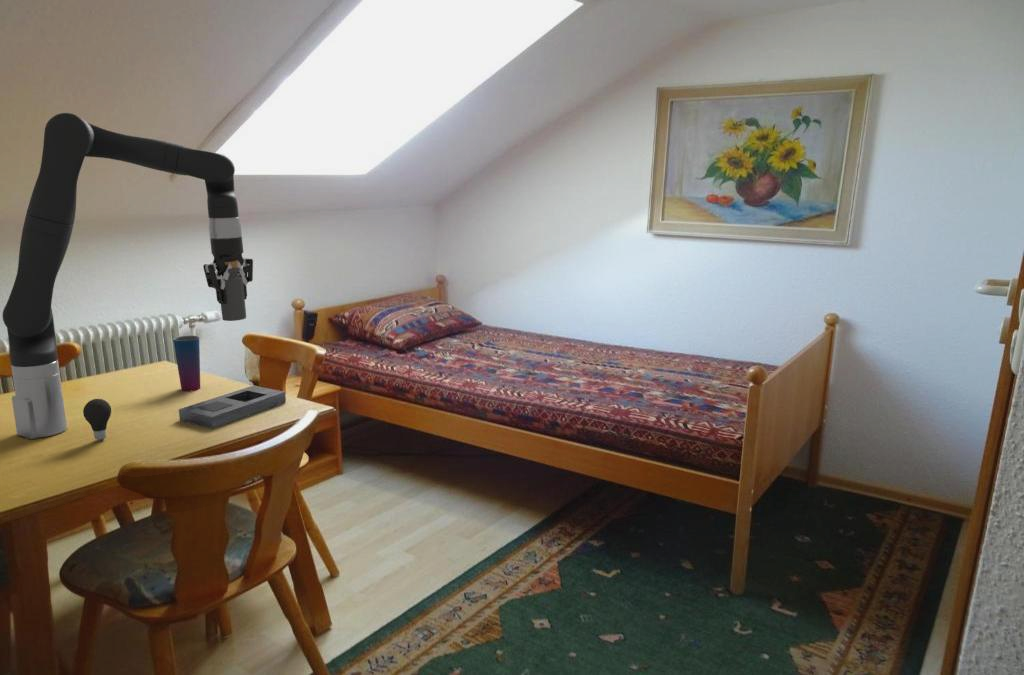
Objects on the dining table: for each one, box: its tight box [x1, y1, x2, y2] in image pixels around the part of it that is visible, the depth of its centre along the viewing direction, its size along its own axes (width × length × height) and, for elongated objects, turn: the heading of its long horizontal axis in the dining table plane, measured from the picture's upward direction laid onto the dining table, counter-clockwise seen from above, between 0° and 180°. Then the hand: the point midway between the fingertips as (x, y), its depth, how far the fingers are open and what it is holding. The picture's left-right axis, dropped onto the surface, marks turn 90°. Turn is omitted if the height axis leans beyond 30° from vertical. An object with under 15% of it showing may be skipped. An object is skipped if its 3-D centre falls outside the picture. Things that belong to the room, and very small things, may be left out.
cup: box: [173, 335, 201, 392], centre depth 205 cm, size 7×7×15 cm
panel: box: [178, 385, 287, 430], centre depth 187 cm, size 24×12×3 cm, turn 152°
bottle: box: [219, 260, 247, 322], centre depth 183 cm, size 6×6×15 cm
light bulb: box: [82, 398, 112, 442], centre depth 165 cm, size 6×6×10 cm
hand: (232, 301), depth 184 cm, fingers closed on bottle, 5 cm apart
